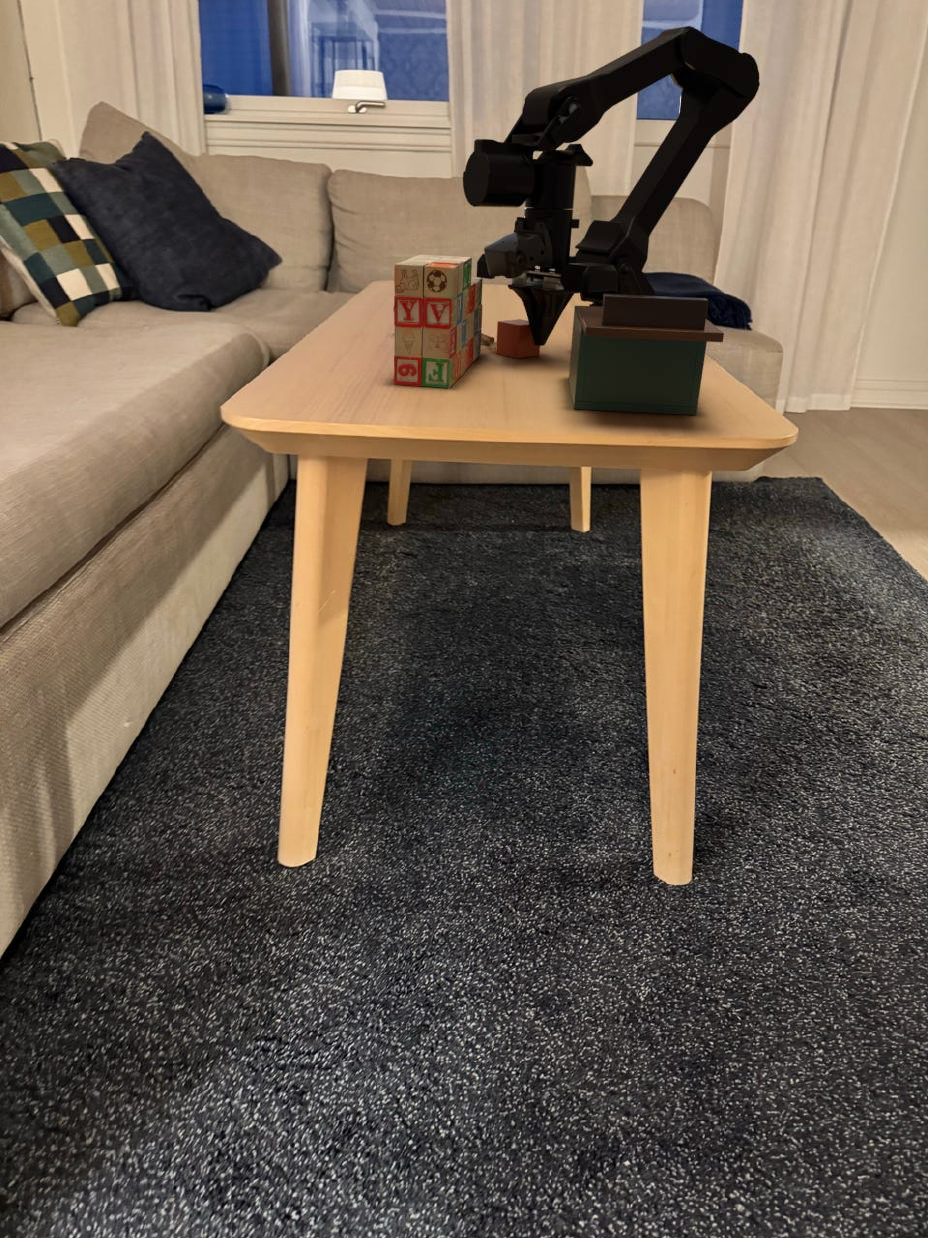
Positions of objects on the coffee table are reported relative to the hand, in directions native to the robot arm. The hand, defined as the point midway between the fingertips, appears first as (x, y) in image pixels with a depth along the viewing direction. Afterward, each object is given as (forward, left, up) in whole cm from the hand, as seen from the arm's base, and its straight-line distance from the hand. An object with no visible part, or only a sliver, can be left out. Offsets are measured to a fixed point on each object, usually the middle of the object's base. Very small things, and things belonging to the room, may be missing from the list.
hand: (539, 345), depth 113 cm
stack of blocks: (+15, -2, -2) cm, 15 cm away
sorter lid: (+12, +25, +6) cm, 29 cm away
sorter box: (+7, +20, -2) cm, 22 cm away
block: (0, -4, -2) cm, 4 cm away
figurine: (+1, -18, -2) cm, 18 cm away
